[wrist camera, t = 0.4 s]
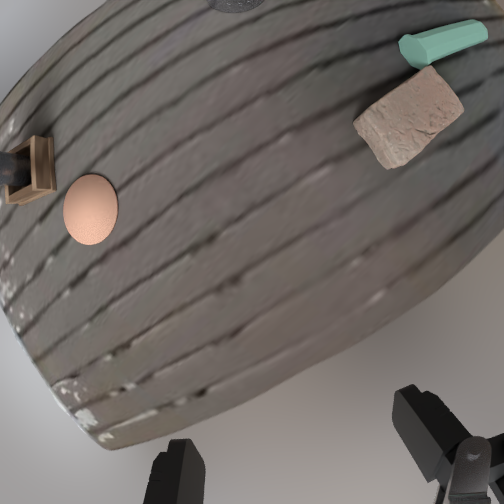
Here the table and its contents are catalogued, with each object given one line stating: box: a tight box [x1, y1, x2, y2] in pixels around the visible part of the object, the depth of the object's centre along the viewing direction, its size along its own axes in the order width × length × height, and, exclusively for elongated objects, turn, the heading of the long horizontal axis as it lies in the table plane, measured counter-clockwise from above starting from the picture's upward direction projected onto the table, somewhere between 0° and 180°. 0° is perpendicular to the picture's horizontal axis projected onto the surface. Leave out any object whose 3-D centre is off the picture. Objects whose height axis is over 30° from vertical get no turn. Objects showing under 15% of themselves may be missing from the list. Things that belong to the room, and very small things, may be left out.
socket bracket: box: [5, 135, 56, 206], centre depth 33 cm, size 9×9×4 cm
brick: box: [353, 66, 464, 169], centre depth 30 cm, size 16×8×5 cm, turn 130°
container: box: [398, 19, 488, 70], centre depth 27 cm, size 6×6×25 cm
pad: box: [63, 174, 118, 245], centre depth 35 cm, size 10×10×1 cm
